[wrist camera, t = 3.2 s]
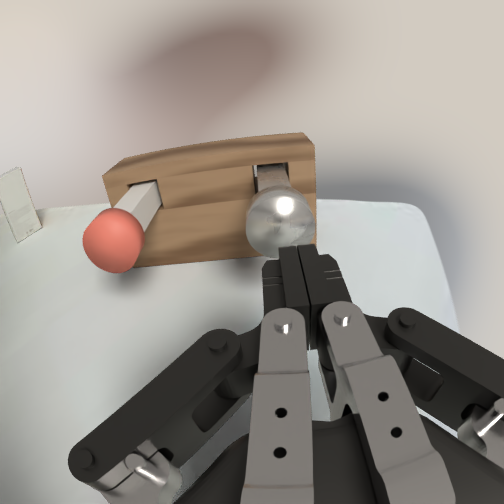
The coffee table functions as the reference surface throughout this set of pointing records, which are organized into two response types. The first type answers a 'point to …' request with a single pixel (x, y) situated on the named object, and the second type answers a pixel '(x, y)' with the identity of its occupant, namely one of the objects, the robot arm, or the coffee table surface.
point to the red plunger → (122, 228)
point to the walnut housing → (209, 194)
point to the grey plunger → (277, 213)
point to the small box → (18, 204)
